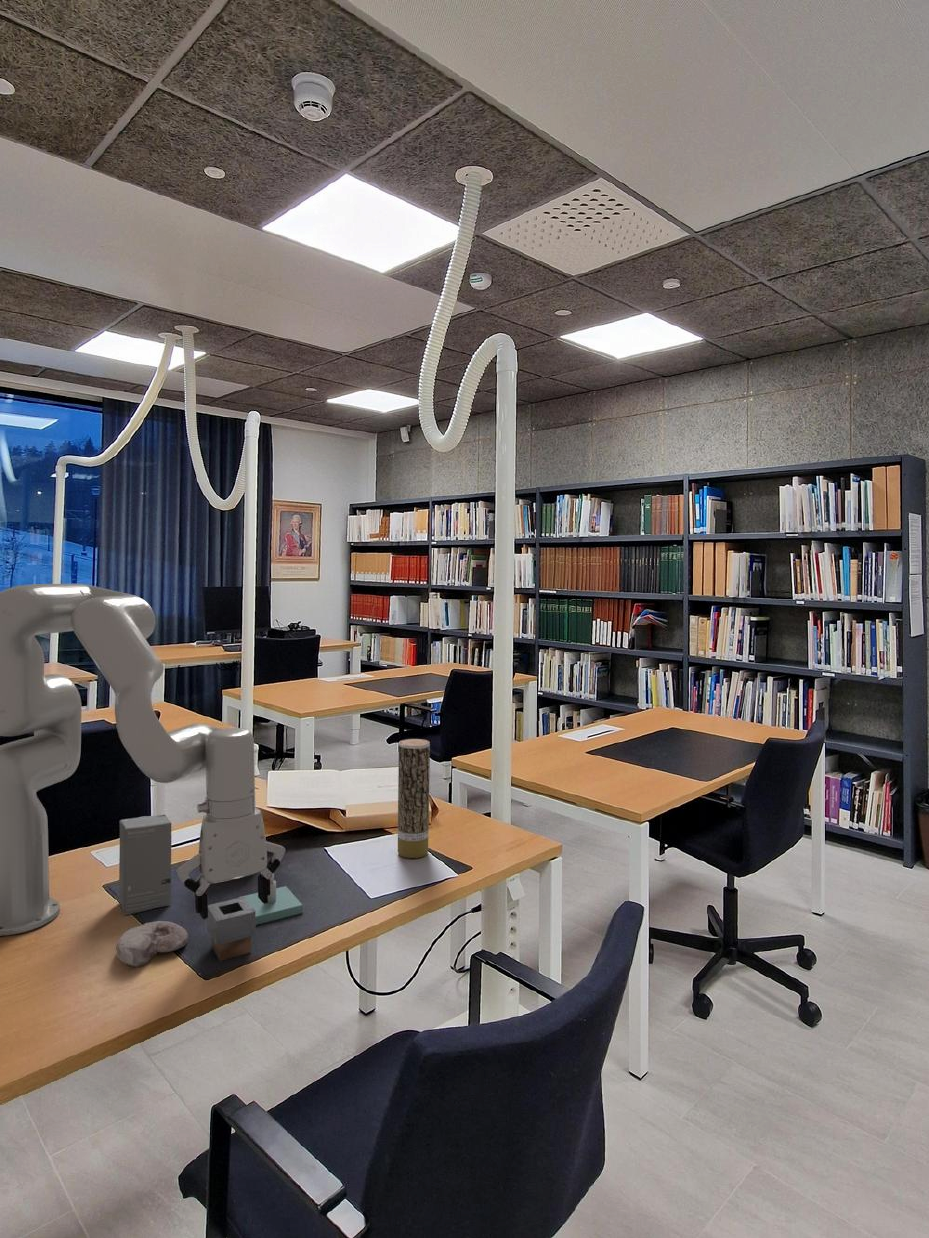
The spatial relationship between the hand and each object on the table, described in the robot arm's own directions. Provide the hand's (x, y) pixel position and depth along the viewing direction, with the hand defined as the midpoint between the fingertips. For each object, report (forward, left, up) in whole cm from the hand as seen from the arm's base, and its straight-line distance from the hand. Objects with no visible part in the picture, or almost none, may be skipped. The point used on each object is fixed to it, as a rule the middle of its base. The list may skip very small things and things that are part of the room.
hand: (233, 907), depth 118 cm
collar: (0, 0, -4) cm, 4 cm away
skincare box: (-9, +25, -7) cm, 28 cm away
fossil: (-12, +7, -8) cm, 16 cm away
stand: (0, 0, -7) cm, 7 cm away
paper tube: (+45, +20, -7) cm, 49 cm away
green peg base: (+10, +11, -7) cm, 16 cm away
